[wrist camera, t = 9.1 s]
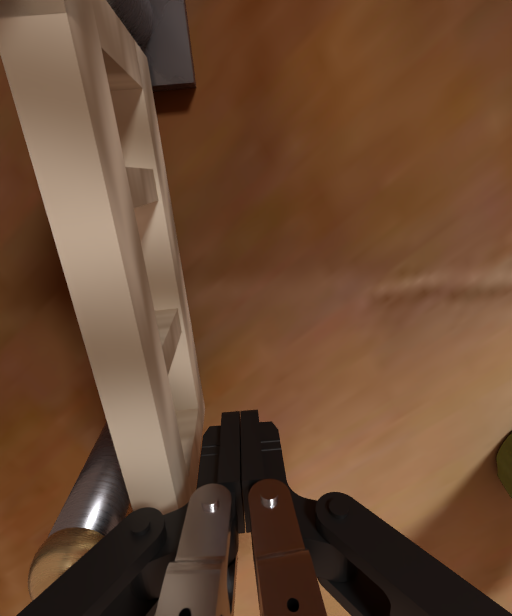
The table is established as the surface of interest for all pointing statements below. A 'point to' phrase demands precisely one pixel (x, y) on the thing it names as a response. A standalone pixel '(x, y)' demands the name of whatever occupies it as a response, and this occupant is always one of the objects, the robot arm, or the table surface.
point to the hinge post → (160, 39)
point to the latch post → (83, 516)
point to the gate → (112, 230)
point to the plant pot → (505, 464)
